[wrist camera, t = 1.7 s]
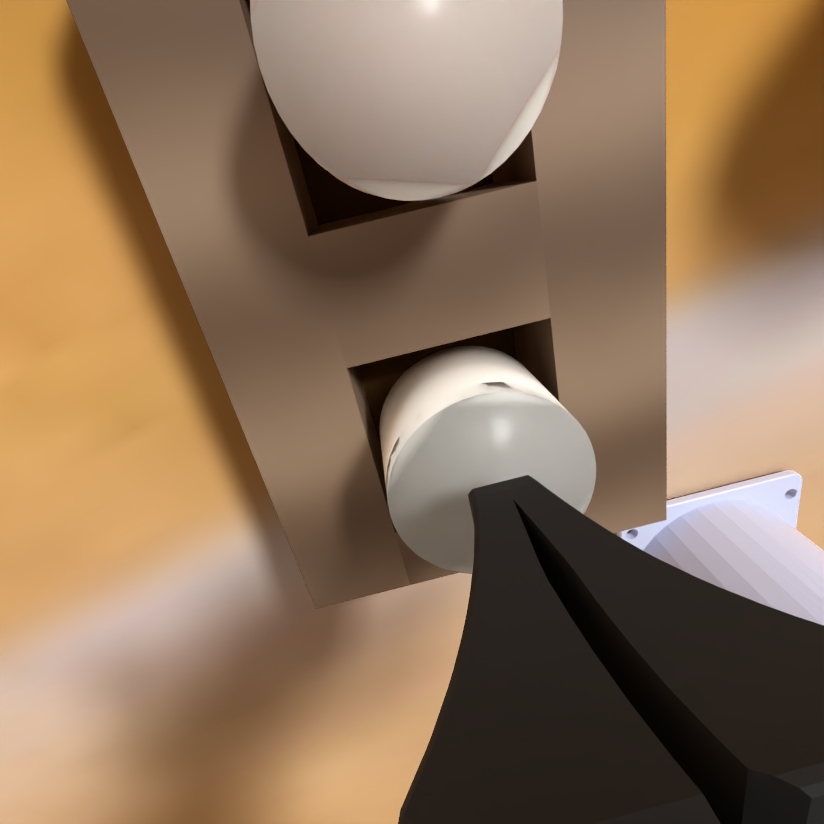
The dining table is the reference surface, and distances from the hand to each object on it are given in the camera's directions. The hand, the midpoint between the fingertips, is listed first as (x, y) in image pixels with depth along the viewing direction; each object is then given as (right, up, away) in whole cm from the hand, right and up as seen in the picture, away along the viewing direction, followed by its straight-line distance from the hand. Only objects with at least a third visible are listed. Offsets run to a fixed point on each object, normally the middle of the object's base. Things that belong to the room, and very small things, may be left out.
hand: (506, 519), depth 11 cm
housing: (-2, +7, +6) cm, 9 cm away
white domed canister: (-1, +2, +4) cm, 5 cm away
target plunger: (-2, +10, 0) cm, 10 cm away
